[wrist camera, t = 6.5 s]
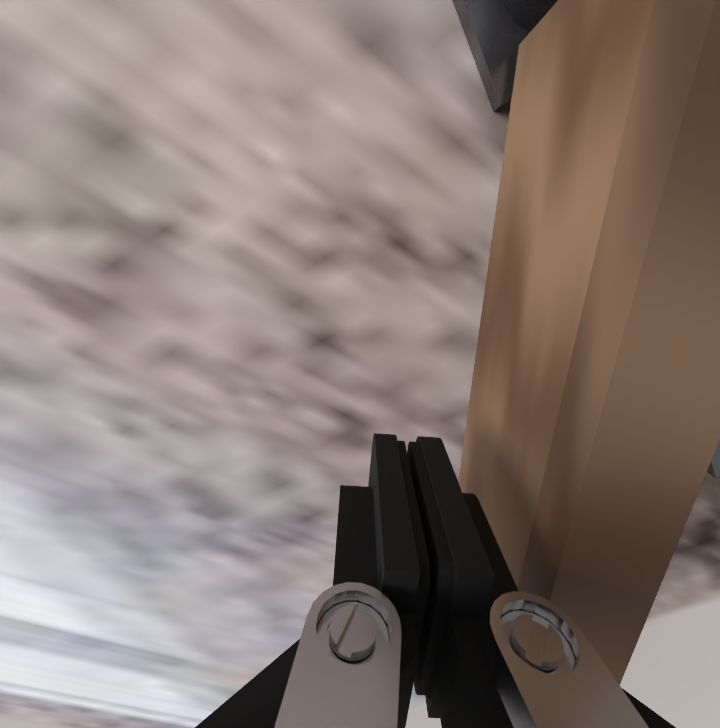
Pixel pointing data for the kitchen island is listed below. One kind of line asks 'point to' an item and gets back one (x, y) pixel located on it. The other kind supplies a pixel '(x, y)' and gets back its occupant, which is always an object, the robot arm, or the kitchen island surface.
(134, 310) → the kitchen island surface
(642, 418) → the brown wooden plank
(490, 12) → the grey upright posts
